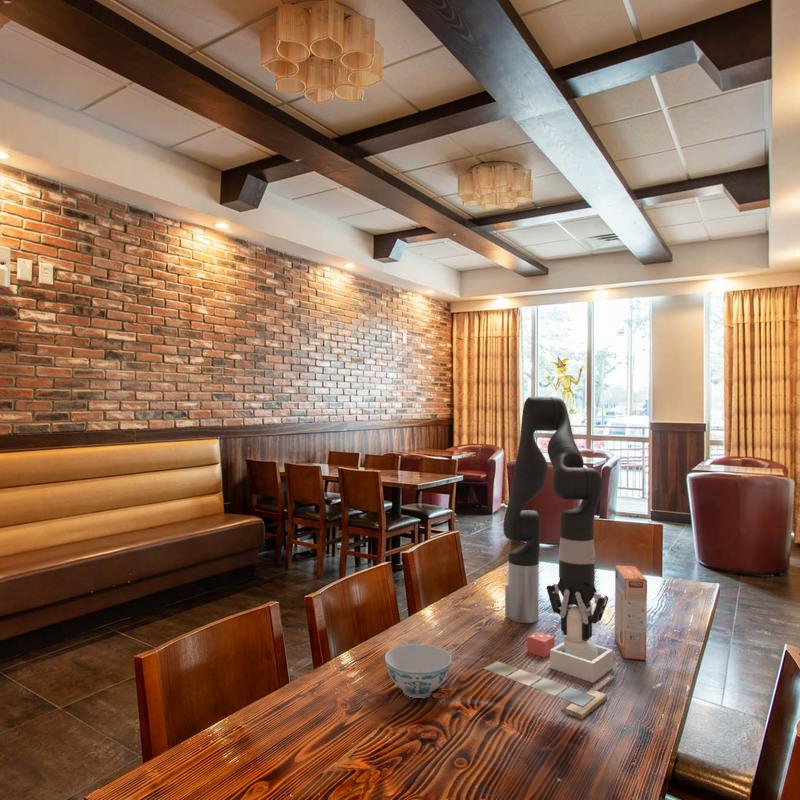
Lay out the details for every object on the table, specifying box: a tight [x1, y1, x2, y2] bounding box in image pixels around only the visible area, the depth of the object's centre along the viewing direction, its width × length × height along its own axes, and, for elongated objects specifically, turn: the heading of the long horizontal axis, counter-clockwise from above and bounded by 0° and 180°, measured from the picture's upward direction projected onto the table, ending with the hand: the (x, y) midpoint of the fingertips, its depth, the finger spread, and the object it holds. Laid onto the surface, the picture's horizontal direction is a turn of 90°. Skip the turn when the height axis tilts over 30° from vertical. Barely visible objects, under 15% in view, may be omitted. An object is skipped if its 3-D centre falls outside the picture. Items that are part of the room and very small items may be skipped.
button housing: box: [549, 641, 614, 688], centre depth 140 cm, size 11×11×6 cm
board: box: [483, 660, 608, 720], centre depth 132 cm, size 28×12×1 cm, turn 47°
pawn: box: [563, 605, 590, 650], centre depth 126 cm, size 5×5×8 cm
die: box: [526, 631, 555, 658], centre depth 149 cm, size 5×5×5 cm
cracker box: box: [614, 564, 648, 661], centre depth 154 cm, size 14×6×21 cm, turn 168°
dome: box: [565, 639, 599, 661], centre depth 140 cm, size 8×8×8 cm
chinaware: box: [384, 643, 452, 699], centre depth 129 cm, size 15×15×8 cm
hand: (576, 636), depth 126 cm, fingers closed on pawn, 4 cm apart
